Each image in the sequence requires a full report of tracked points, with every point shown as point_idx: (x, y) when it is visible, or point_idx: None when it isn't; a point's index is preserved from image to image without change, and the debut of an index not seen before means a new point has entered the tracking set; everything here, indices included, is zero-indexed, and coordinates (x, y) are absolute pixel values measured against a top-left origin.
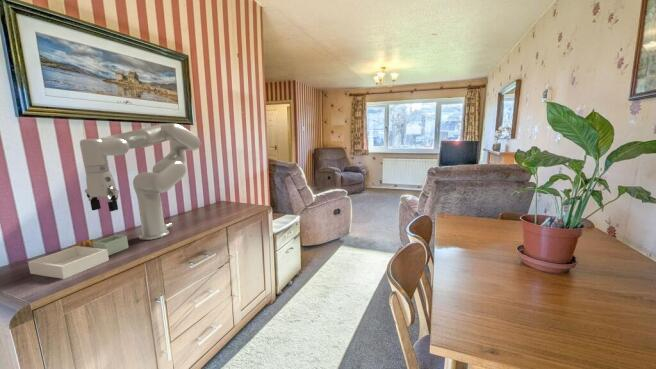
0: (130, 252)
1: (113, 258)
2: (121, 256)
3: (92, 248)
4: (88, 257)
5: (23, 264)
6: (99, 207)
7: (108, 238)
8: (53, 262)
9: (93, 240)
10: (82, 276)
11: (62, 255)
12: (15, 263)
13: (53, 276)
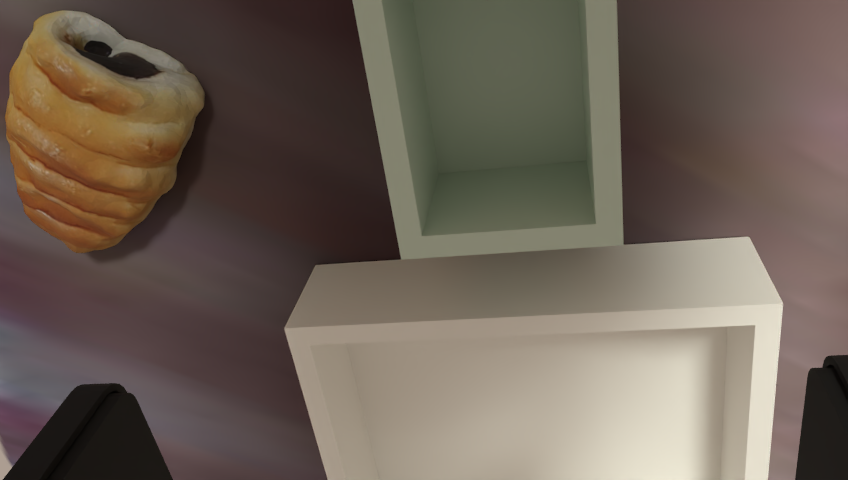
0: (799, 17)
1: (752, 194)
2: (796, 134)
3: (563, 328)
4: (766, 449)
5: None
6: (124, 435)
7: (398, 85)
8: (365, 440)
9: (126, 93)
10: None
11: (344, 410)
12: None
13: None
